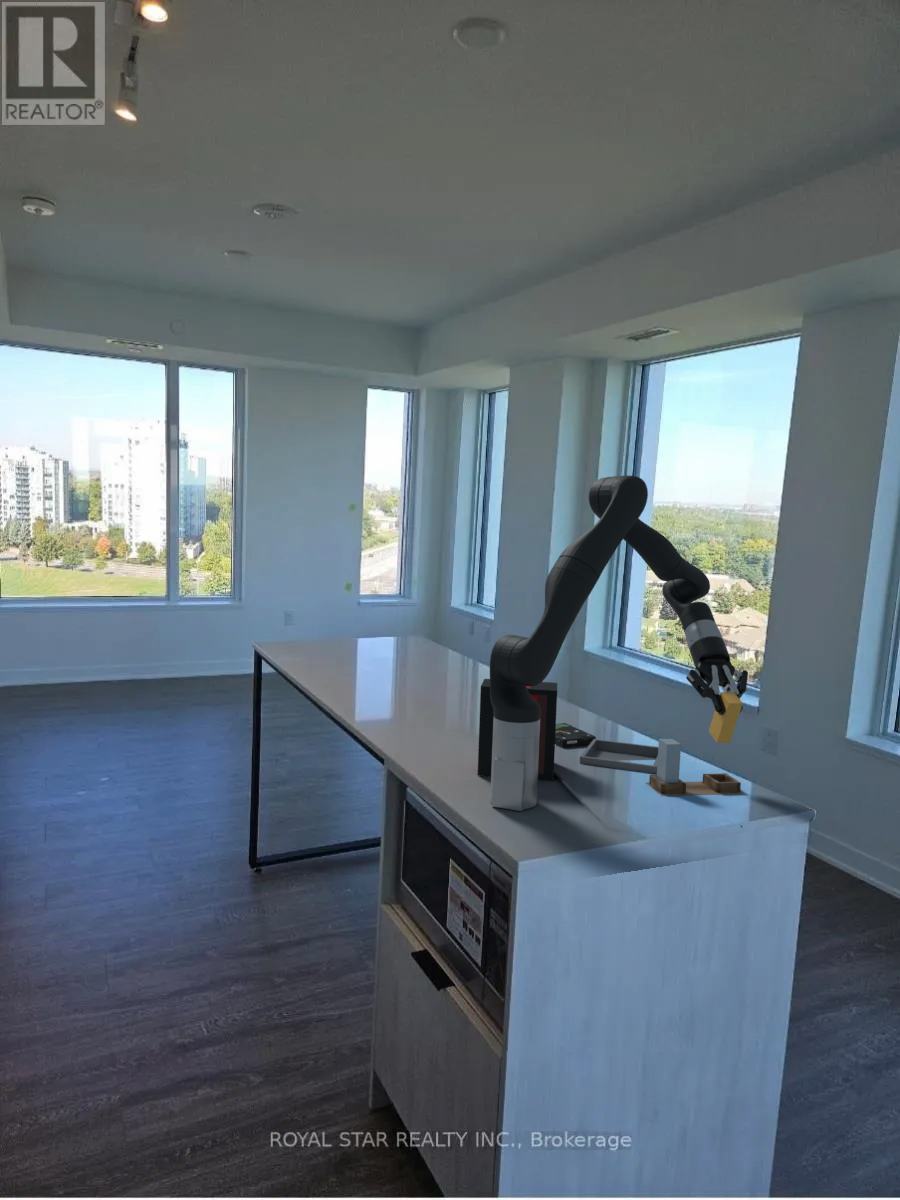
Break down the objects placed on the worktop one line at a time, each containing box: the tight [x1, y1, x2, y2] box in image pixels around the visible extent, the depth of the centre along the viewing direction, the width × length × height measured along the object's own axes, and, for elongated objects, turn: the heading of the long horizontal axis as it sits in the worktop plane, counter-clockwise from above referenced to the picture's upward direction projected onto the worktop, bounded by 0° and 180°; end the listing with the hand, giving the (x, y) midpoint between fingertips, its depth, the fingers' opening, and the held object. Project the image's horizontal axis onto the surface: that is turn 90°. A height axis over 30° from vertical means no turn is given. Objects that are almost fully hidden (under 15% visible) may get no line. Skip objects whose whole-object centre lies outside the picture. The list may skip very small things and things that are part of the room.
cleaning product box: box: [477, 678, 558, 782], centre depth 173 cm, size 16×9×20 cm, turn 82°
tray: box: [579, 738, 659, 775], centre depth 182 cm, size 17×17×3 cm
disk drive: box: [555, 722, 597, 749], centre depth 204 cm, size 10×3×15 cm
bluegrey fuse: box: [656, 738, 682, 783], centre depth 161 cm, size 4×3×10 cm
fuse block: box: [645, 772, 744, 797], centre depth 162 cm, size 8×18×4 cm, turn 99°
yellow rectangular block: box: [708, 691, 744, 744], centre depth 162 cm, size 4×3×10 cm
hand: (730, 712), depth 160 cm, fingers closed on yellow rectangular block, 2 cm apart
